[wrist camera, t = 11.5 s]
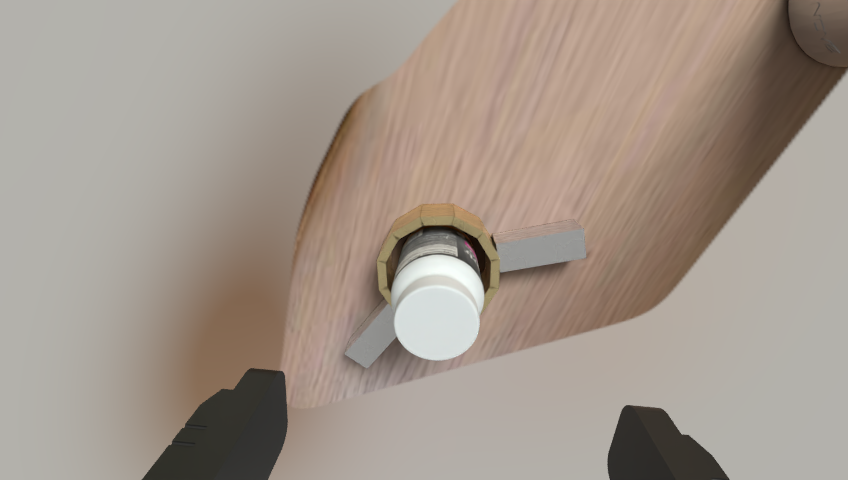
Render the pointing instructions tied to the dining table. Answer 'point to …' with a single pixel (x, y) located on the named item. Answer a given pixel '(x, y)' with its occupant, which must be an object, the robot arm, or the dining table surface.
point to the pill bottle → (437, 293)
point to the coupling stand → (501, 256)
